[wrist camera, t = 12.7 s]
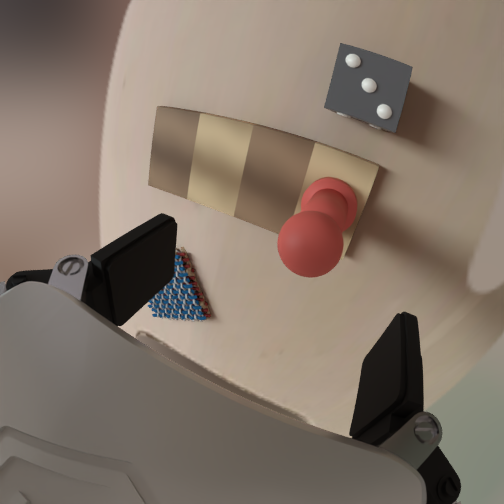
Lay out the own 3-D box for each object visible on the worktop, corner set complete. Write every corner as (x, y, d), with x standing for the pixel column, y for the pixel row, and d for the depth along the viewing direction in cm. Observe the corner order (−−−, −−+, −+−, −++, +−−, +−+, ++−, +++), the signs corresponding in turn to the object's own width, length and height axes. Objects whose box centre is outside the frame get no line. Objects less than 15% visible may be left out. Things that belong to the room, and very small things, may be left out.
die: (346, 59, 18) (340, 42, 14) (403, 78, 17) (412, 66, 12) (332, 113, 21) (323, 109, 16) (388, 133, 19) (394, 134, 15)
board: (164, 106, 26) (157, 106, 25) (378, 164, 21) (379, 166, 20) (155, 182, 30) (148, 185, 29) (343, 254, 25) (342, 259, 24)
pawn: (312, 169, 22) (273, 202, 14) (365, 189, 21) (361, 237, 13) (297, 217, 24) (253, 276, 16) (346, 237, 23) (327, 308, 15)
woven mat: (217, 315, 36) (209, 325, 35) (161, 313, 41) (154, 320, 40) (189, 243, 33) (179, 250, 31) (134, 252, 38) (124, 258, 36)
